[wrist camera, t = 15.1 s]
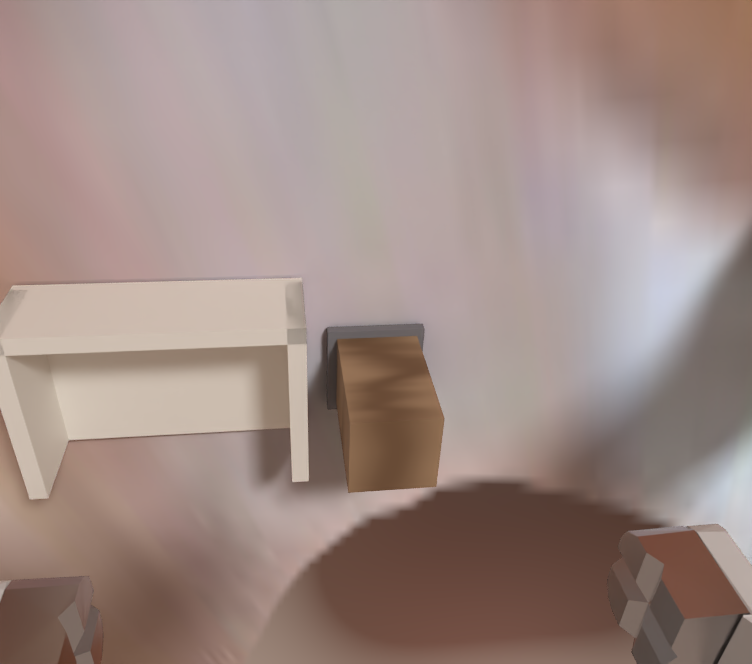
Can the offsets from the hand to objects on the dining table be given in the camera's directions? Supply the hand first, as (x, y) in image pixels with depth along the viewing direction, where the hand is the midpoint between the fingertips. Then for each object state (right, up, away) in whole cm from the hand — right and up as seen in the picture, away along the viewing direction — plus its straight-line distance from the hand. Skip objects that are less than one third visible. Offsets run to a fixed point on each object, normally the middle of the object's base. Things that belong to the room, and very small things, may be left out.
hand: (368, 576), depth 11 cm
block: (0, +1, +33) cm, 33 cm away
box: (-12, +2, +32) cm, 34 cm away
